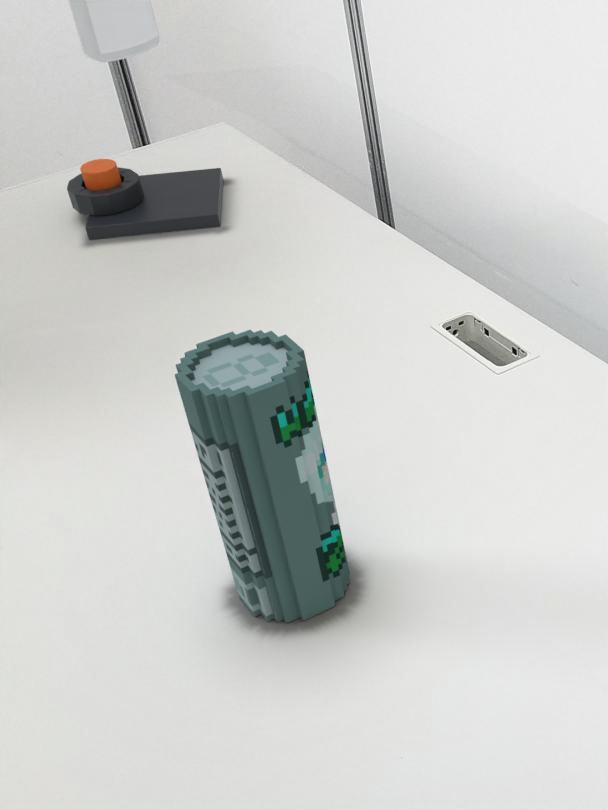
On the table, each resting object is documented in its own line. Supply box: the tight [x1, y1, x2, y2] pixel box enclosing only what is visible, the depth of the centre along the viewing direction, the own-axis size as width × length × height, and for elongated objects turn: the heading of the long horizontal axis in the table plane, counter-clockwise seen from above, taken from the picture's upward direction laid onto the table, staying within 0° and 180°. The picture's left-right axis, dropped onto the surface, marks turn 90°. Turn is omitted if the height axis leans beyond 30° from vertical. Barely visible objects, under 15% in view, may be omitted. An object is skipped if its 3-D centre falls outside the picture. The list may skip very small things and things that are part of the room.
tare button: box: [79, 158, 122, 190], centre depth 107 cm, size 3×3×2 cm
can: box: [174, 329, 351, 624], centre depth 67 cm, size 6×6×15 cm
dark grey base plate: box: [66, 166, 224, 241], centre depth 109 cm, size 12×10×3 cm
